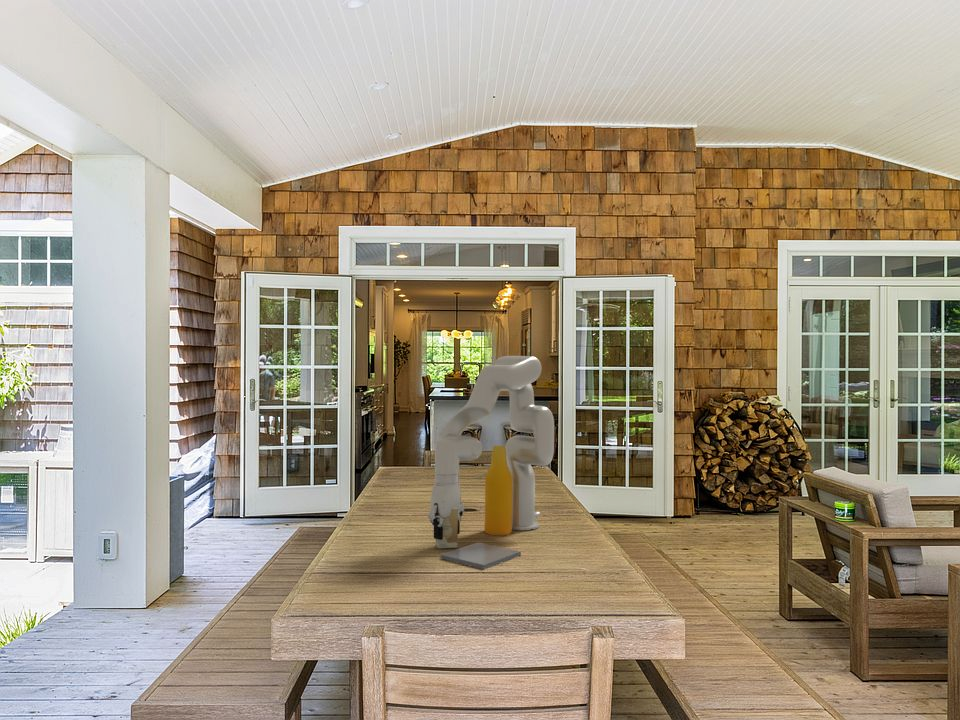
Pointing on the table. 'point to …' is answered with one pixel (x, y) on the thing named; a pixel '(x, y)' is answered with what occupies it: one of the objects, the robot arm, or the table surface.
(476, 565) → the slate board
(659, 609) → the table surface
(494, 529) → the beer bottle
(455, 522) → the skincare box
